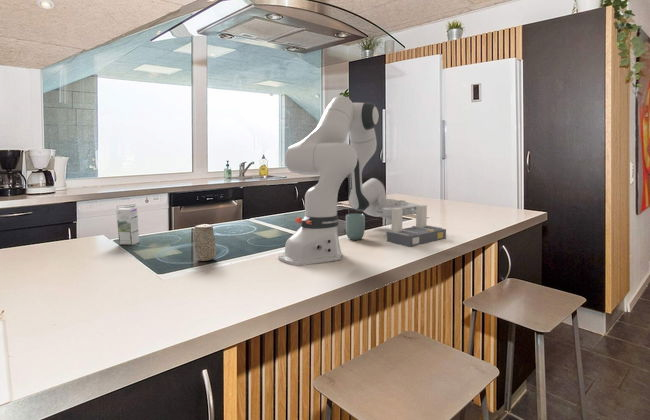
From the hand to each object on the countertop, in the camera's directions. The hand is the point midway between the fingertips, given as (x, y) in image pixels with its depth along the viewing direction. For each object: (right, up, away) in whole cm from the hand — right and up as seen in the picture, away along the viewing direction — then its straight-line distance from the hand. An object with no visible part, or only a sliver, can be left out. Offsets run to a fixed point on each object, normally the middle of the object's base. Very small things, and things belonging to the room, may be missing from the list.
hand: (414, 212), depth 180 cm
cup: (-25, -11, -5) cm, 28 cm away
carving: (-78, -16, -36) cm, 88 cm away
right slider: (+2, -6, -2) cm, 7 cm away
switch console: (-1, -11, -8) cm, 14 cm away
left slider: (-10, -7, -11) cm, 16 cm away
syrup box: (-116, -13, -9) cm, 117 cm away
